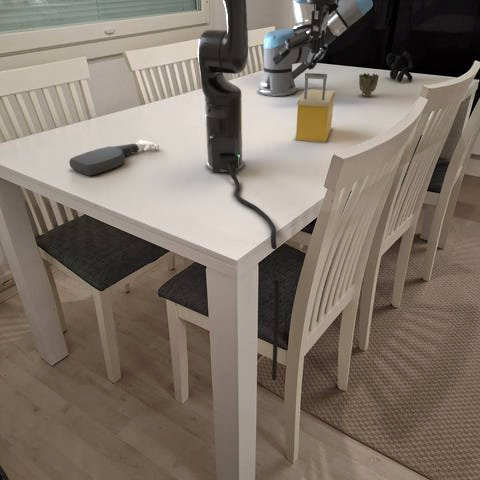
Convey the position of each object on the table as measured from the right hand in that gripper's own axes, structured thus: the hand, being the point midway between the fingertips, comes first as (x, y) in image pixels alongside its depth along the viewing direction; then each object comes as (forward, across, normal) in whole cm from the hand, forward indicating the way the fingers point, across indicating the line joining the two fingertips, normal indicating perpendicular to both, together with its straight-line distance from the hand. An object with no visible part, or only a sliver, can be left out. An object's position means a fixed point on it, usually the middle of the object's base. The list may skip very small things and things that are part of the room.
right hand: (283, 69), depth 166 cm
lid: (-9, -20, -32) cm, 39 cm away
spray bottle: (+39, -59, -31) cm, 77 cm away
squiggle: (-30, +59, -2) cm, 66 cm away
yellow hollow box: (-2, -14, -38) cm, 40 cm away
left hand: (-18, -31, -27) cm, 45 cm away
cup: (-17, +30, -14) cm, 37 cm away
